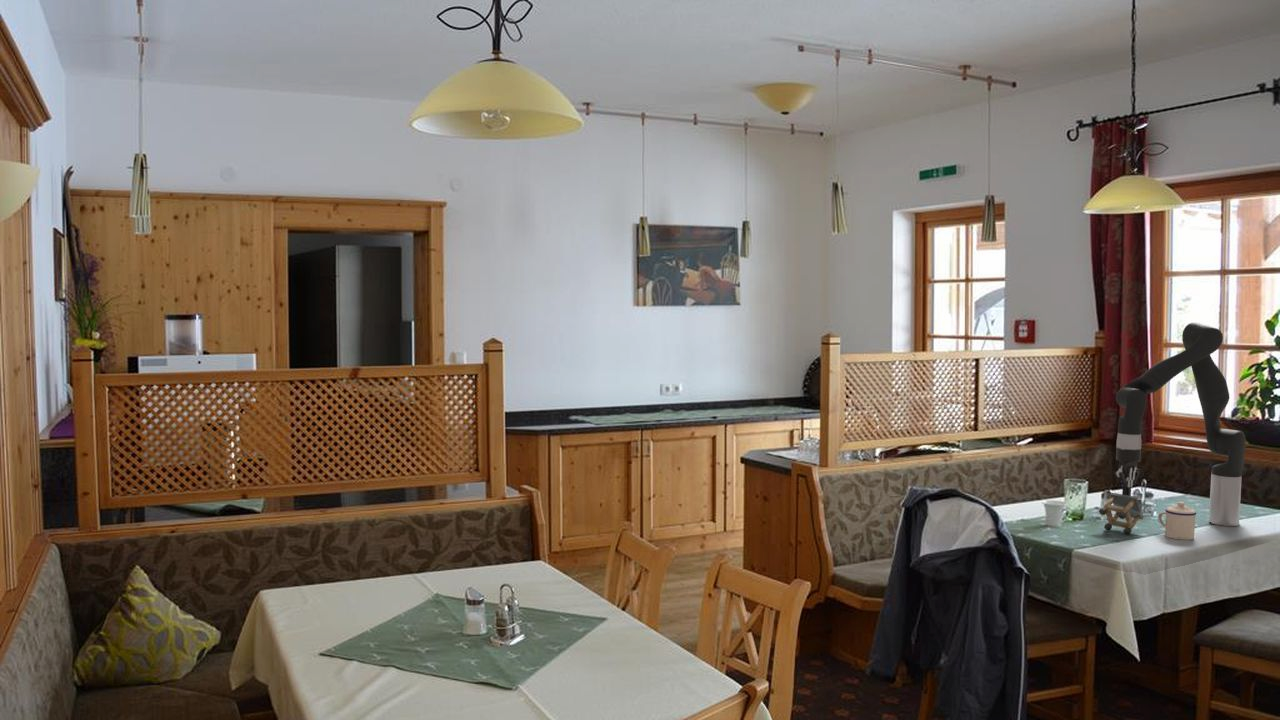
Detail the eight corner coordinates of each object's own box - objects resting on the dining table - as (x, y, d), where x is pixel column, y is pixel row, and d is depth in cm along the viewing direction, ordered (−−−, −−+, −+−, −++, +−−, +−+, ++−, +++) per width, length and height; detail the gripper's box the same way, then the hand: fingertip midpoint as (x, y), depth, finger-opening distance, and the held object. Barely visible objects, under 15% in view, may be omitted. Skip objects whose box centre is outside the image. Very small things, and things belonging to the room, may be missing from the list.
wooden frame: (1118, 512, 352) (1111, 492, 349) (1143, 517, 345) (1137, 497, 342) (1105, 529, 348) (1098, 509, 345) (1130, 535, 341) (1123, 514, 338)
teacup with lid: (1200, 538, 338) (1202, 503, 337) (1184, 541, 333) (1186, 506, 332) (1165, 530, 348) (1167, 496, 347) (1150, 533, 343) (1151, 499, 343)
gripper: (1128, 443, 352) (1126, 493, 353) (1107, 446, 344) (1104, 497, 346) (1150, 446, 346) (1147, 497, 347) (1128, 449, 338) (1126, 501, 340)
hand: (1126, 497), depth 346 cm, fingers closed
